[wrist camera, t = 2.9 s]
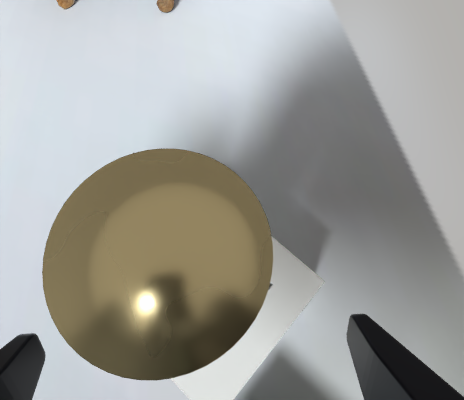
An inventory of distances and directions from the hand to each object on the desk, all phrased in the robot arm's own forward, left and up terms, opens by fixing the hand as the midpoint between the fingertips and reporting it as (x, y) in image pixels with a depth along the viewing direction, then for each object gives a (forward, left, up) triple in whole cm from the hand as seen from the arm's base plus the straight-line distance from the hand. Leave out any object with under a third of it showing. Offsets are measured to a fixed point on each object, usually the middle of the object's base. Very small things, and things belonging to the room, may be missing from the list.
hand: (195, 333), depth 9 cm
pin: (+1, +1, -9) cm, 9 cm away
